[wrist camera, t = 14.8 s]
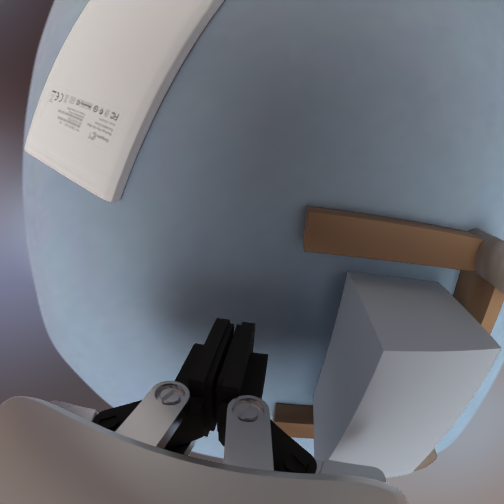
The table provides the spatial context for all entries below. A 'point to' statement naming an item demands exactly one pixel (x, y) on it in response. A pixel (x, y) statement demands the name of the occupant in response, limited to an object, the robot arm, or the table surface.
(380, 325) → the tall white block
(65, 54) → the external hard drive
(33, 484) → the robot arm
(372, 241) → the frame
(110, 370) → the table surface
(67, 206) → the table surface
